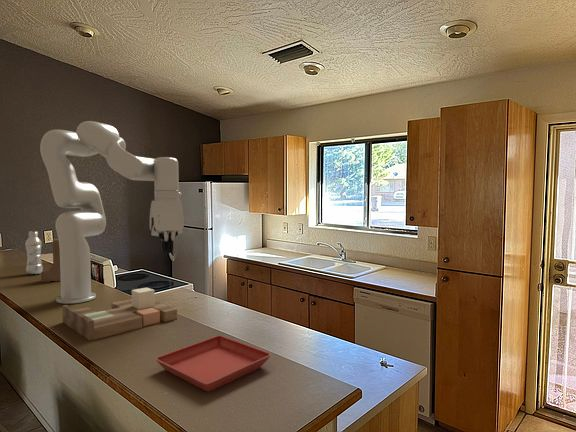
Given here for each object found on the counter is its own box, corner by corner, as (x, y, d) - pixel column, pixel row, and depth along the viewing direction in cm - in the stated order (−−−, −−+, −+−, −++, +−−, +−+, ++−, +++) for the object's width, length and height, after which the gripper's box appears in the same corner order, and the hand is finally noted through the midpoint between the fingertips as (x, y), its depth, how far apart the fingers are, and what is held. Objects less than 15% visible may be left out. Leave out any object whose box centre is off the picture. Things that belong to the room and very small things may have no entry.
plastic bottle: (37, 275, 184) (36, 232, 183) (22, 275, 184) (21, 232, 183) (46, 272, 190) (44, 231, 189) (32, 272, 190) (30, 231, 189)
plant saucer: (206, 400, 74) (206, 383, 74) (153, 372, 85) (153, 357, 85) (272, 368, 87) (272, 353, 87) (219, 347, 99) (219, 334, 99)
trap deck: (62, 322, 117) (62, 305, 117) (144, 305, 135) (144, 290, 135) (89, 340, 103) (89, 321, 102) (177, 318, 121) (176, 302, 120)
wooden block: (41, 282, 169) (40, 240, 168) (42, 280, 173) (41, 239, 172) (65, 280, 173) (64, 239, 172) (66, 278, 177) (65, 238, 176)
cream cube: (131, 306, 124) (131, 290, 124) (147, 302, 127) (146, 287, 127) (139, 309, 120) (139, 292, 120) (154, 305, 124) (154, 290, 124)
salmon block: (136, 322, 118) (136, 310, 118) (152, 319, 121) (152, 307, 121) (143, 326, 114) (143, 314, 114) (160, 322, 118) (159, 311, 118)
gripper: (181, 196, 136) (182, 249, 137) (139, 196, 125) (140, 254, 126) (193, 196, 131) (194, 251, 132) (150, 196, 120) (151, 256, 121)
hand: (167, 252), depth 129 cm, fingers closed
